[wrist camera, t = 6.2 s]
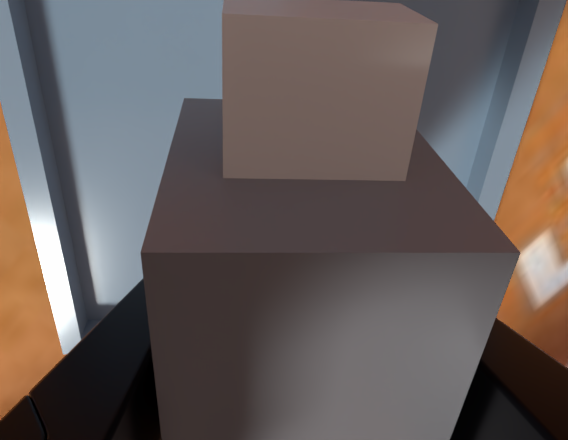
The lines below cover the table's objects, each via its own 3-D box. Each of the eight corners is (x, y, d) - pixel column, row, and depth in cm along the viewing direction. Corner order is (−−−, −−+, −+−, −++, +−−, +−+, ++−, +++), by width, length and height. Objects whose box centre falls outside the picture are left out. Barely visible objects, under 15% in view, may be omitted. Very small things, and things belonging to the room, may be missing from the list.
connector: (353, 339, 11) (409, 545, 8) (195, 342, 11) (175, 560, 7) (416, -10, 8) (591, 64, 4) (178, -23, 7) (117, 44, 3)
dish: (437, 316, 17) (452, 346, 16) (76, 321, 16) (62, 354, 15) (558, -97, 11) (598, -98, 10) (-25, -141, 10) (-61, -148, 8)
